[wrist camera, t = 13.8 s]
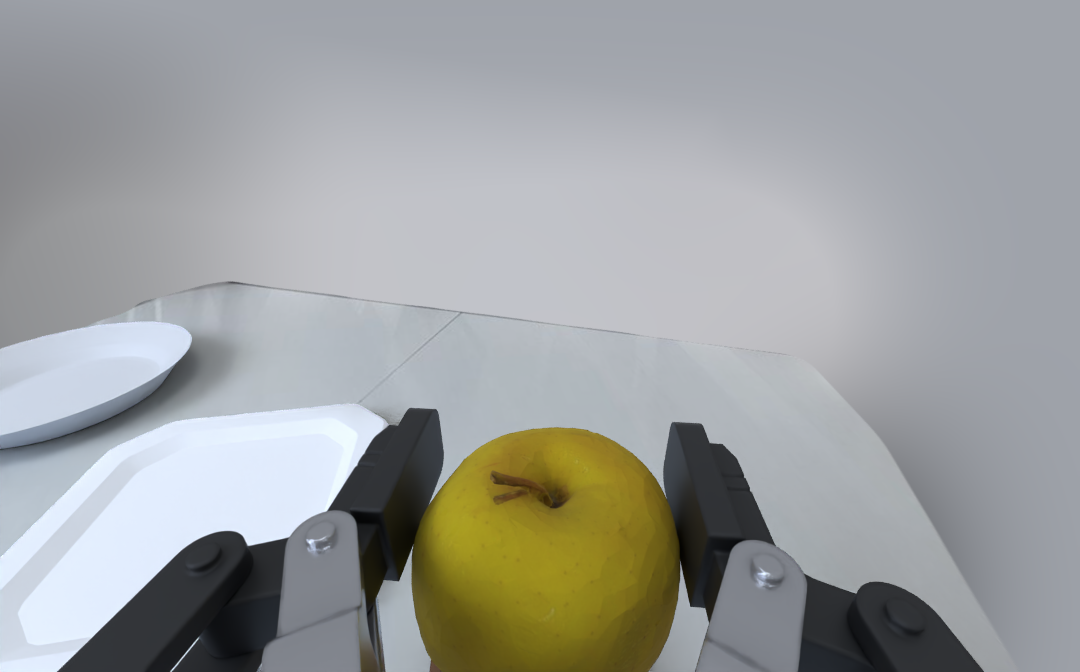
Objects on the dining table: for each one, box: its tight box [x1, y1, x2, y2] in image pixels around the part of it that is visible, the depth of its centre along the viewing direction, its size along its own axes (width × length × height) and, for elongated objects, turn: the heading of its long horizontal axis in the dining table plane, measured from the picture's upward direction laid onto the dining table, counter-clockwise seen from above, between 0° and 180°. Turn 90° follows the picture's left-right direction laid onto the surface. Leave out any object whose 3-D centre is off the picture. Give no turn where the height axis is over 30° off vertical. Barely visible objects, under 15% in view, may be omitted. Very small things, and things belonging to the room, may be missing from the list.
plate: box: [0, 403, 388, 672], centre depth 34 cm, size 25×25×2 cm
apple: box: [412, 427, 680, 672], centre depth 11 cm, size 6×6×8 cm
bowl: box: [0, 321, 192, 449], centre depth 50 cm, size 25×25×4 cm
